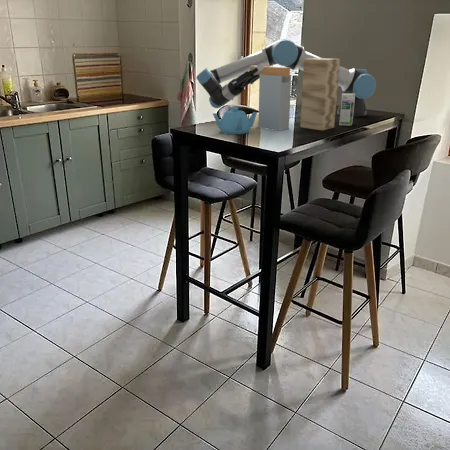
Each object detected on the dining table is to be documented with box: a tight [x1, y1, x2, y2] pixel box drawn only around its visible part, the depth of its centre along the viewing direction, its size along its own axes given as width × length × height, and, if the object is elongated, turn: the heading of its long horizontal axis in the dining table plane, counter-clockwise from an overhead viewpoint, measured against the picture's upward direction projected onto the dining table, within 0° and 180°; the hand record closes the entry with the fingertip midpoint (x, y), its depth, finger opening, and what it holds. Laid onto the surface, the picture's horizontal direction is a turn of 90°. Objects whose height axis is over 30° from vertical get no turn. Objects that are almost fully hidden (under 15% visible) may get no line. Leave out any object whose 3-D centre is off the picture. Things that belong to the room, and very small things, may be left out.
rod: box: [250, 66, 291, 77], centre depth 207 cm, size 4×20×4 cm, turn 46°
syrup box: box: [338, 93, 355, 127], centre depth 218 cm, size 6×6×14 cm
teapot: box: [212, 106, 258, 135], centre depth 203 cm, size 15×15×11 cm
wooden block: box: [300, 57, 341, 131], centre depth 209 cm, size 10×12×30 cm
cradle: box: [257, 74, 292, 131], centre depth 210 cm, size 8×12×24 cm, turn 46°
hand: (266, 65), depth 207 cm, fingers closed on rod, 3 cm apart
